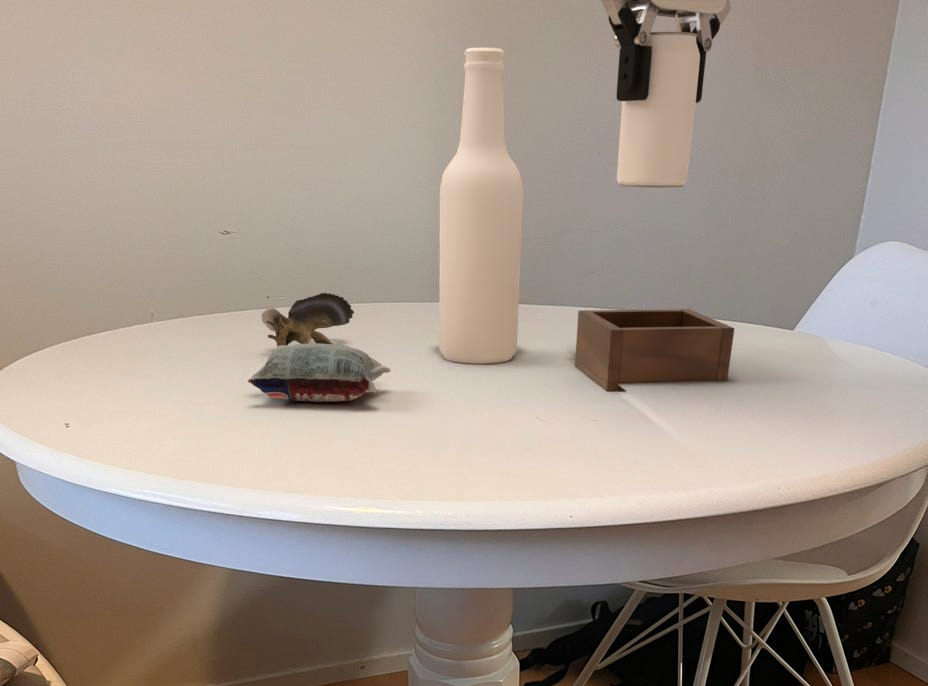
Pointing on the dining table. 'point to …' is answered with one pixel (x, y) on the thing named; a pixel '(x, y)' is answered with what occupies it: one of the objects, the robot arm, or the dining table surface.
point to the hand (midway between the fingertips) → (659, 99)
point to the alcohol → (480, 225)
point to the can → (661, 116)
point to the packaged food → (317, 373)
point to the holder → (651, 347)
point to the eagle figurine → (308, 319)
